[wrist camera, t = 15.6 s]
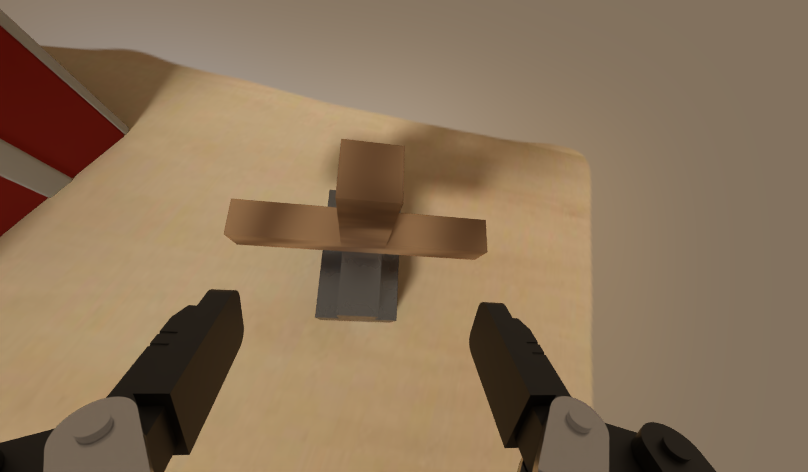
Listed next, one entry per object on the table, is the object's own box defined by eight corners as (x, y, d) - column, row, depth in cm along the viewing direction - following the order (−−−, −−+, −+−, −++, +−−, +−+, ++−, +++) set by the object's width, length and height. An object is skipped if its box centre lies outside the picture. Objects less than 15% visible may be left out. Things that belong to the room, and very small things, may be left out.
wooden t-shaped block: (236, 247, 23) (146, 180, 13) (243, 209, 23) (165, 118, 14) (474, 262, 25) (554, 217, 15) (473, 227, 26) (548, 162, 16)
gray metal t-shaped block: (389, 322, 32) (405, 318, 23) (320, 319, 31) (307, 314, 22) (394, 214, 36) (409, 172, 27) (332, 209, 35) (325, 163, 26)
